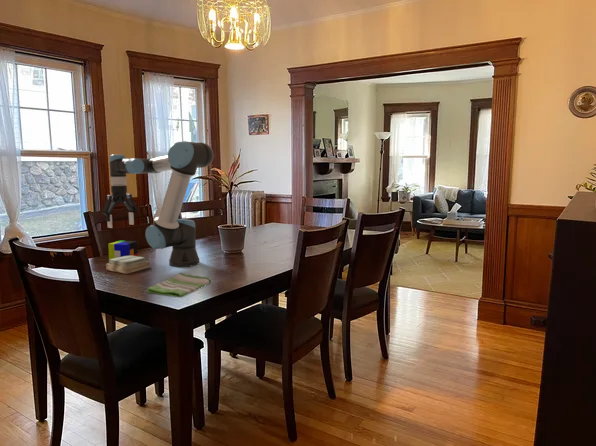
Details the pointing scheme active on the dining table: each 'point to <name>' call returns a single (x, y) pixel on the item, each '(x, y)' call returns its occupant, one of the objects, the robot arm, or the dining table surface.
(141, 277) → the dining table surface
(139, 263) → the plinth
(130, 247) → the puzzle toy
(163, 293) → the dish towel
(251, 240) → the dining table surface
